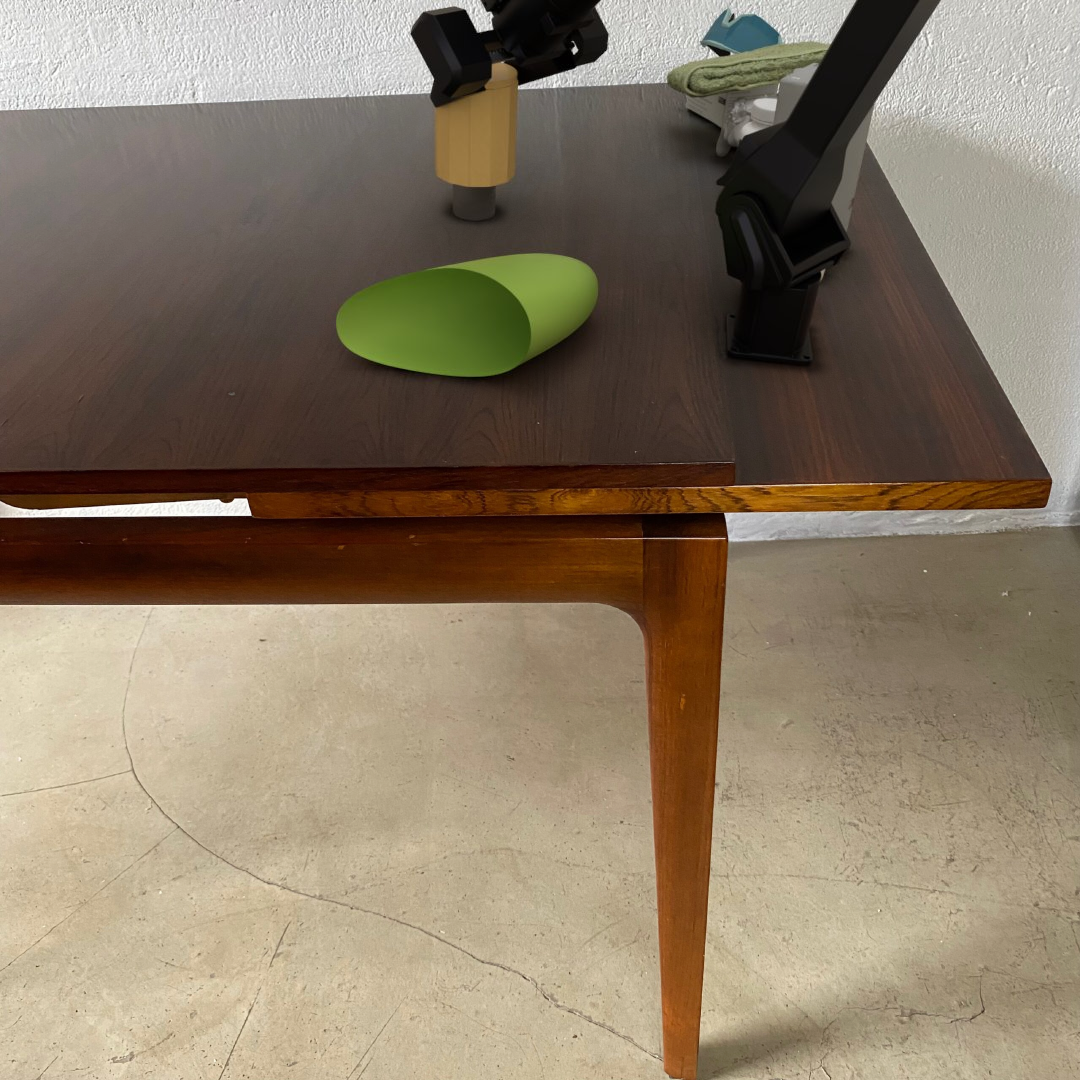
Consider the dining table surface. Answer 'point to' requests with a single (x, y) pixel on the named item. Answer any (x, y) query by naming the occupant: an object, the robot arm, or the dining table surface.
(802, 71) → the cosmetic box
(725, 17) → the teal curved piece
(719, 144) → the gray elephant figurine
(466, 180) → the cup-cap
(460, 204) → the flask
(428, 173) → the dining table surface
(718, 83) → the washcloth
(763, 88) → the small box
